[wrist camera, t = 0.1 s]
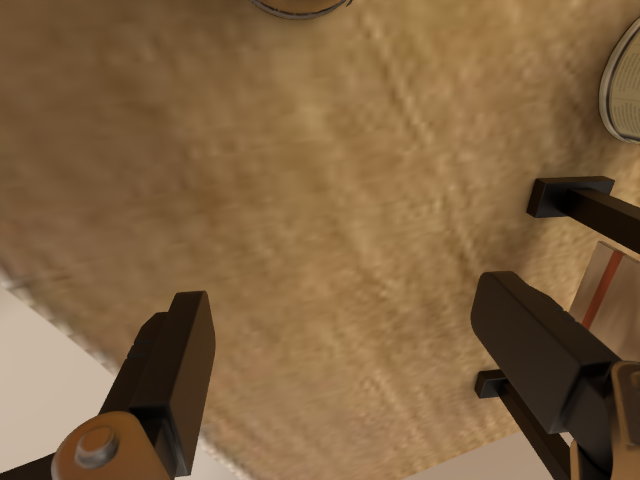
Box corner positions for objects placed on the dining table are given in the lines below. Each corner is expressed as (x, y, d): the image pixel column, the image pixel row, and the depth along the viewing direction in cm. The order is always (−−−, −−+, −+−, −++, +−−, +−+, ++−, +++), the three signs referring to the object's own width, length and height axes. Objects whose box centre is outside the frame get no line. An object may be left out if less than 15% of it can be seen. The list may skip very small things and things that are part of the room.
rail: (535, 178, 28) (817, 308, 14) (603, 175, 29) (942, 297, 14) (473, 390, 40) (589, 583, 25) (522, 384, 41) (664, 571, 26)
